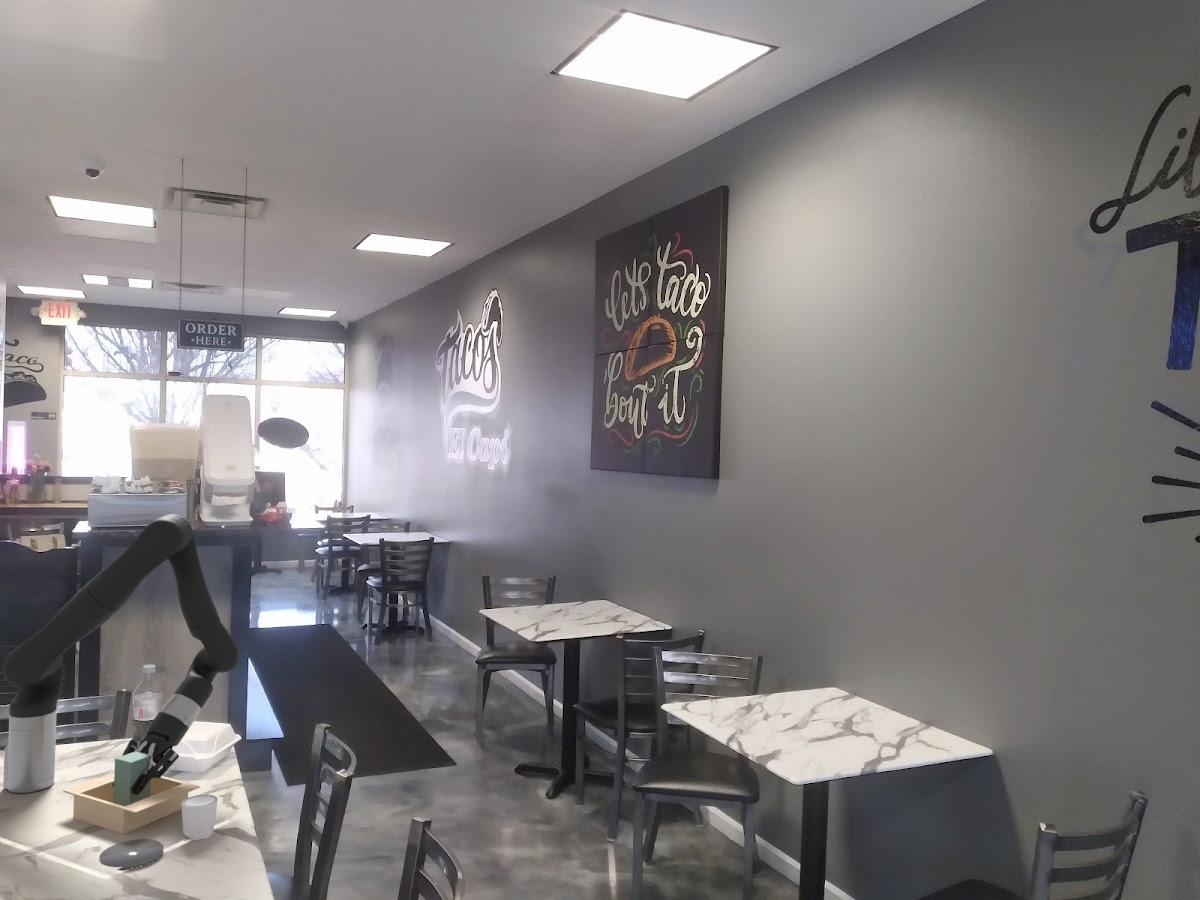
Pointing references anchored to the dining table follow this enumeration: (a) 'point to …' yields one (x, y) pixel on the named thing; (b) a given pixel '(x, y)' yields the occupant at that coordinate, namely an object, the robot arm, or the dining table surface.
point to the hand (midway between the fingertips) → (124, 790)
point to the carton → (101, 810)
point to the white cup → (199, 816)
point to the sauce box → (129, 778)
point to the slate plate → (132, 853)
